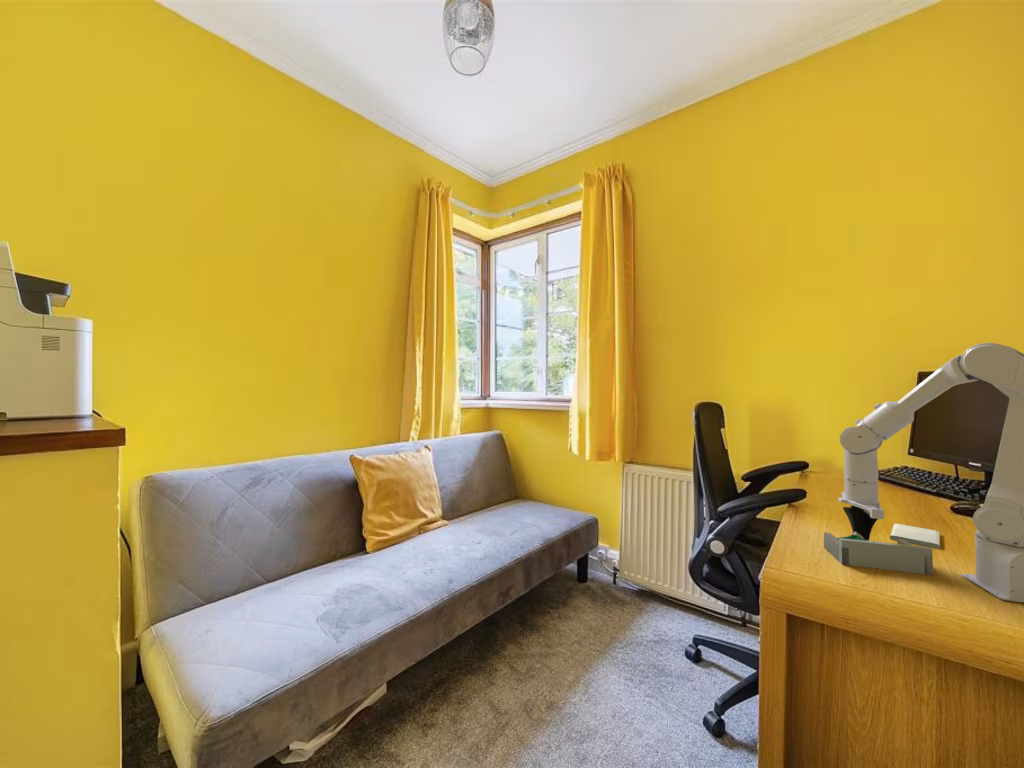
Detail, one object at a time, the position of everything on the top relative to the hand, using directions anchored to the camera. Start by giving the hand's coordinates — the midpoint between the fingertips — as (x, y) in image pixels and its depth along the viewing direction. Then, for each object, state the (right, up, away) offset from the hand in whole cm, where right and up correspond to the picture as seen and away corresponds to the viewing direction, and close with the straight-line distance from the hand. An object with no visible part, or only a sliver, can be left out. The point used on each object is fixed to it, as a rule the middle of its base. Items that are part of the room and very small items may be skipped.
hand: (861, 541), depth 89 cm
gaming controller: (-4, -2, -3) cm, 6 cm away
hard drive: (+20, -3, +8) cm, 22 cm away
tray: (-2, -2, -5) cm, 6 cm away
